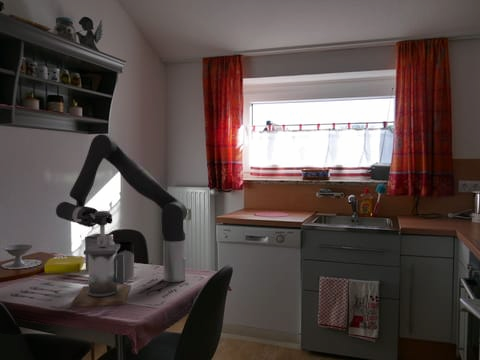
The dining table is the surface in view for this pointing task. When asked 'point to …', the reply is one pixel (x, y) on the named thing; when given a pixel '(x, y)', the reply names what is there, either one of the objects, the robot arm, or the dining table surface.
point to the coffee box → (89, 241)
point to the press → (104, 269)
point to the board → (116, 299)
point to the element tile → (64, 265)
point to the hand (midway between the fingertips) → (105, 221)
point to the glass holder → (126, 260)
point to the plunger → (103, 216)
